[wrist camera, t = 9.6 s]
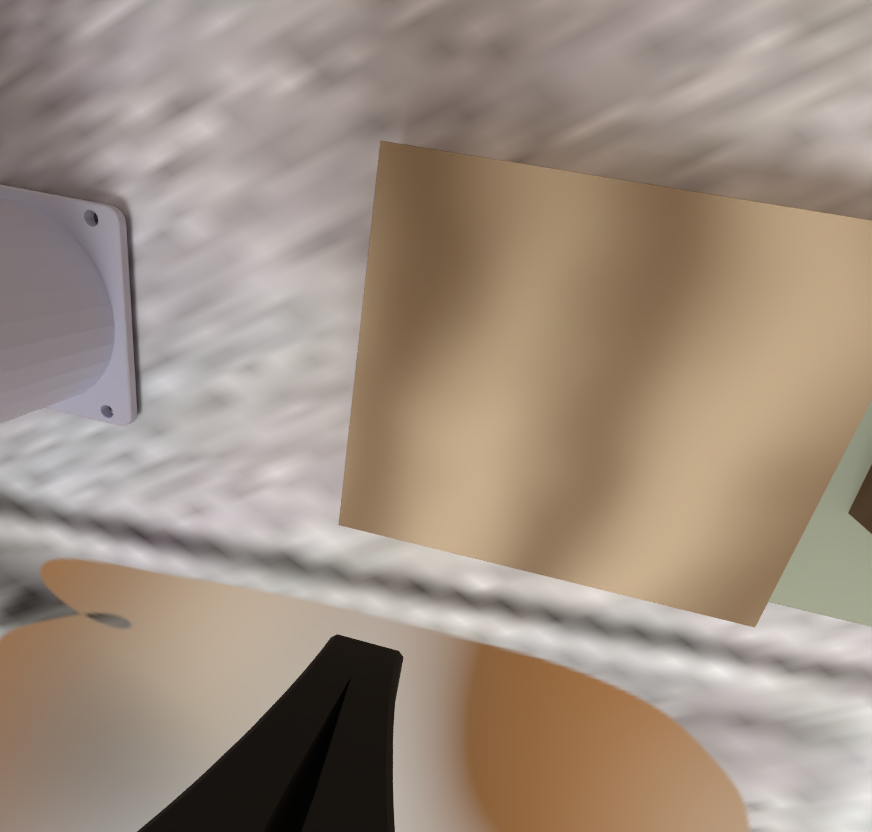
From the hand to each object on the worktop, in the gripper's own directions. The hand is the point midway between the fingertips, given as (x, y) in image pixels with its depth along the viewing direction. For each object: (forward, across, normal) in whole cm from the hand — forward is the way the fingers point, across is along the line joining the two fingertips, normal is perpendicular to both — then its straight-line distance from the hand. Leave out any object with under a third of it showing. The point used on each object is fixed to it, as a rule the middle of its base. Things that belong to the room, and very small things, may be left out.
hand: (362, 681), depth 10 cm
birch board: (+9, -4, -4) cm, 11 cm away
